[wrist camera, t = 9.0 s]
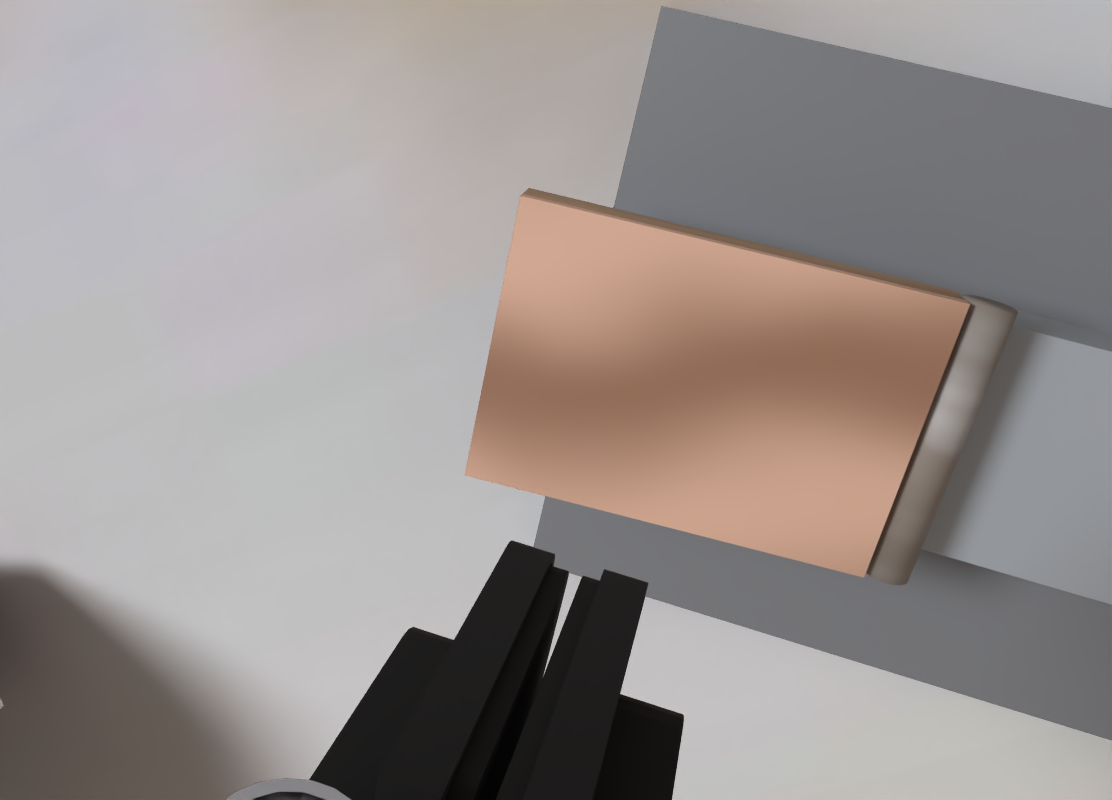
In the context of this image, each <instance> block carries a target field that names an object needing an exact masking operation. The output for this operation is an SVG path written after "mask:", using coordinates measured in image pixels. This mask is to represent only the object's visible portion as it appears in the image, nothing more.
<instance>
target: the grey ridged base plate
mask: <svg viewBox="0 0 1112 800" xmlns="http://www.w3.org/2000/svg"><path fill="white" fill-rule="evenodd" d="M613 208H614V209H618V210H622V211H626V212H630V213H635V214H639V215H643V216H647V217H651V218H655V219H660V220H664V221H668V222H672V223H676V224H680V225H684V226H689V227H693V228H697V229H701V230H705V231H709V232H714V233H718V234H722V235H726V236H730V237H734V238H738V239H743V240H747V241H751V242H755V243H759V244H763V245H768V246H772V247H776V248H780V249H784V250H788V251H792V252H797V253H801V254H805V255H809V256H813V257H817V258H822V259H826V260H830V261H834V262H838V263H842V264H846V265H851V266H855V267H859V268H863V269H867V270H871V271H876V272H880V273H884V274H888V275H892V276H896V277H900V278H905V279H909V280H913V281H917V282H921V283H925V284H930V285H934V286H938V287H942V288H946V289H950V290H954V291H957V292H958V293H959V294H960V295H961V296H962V295H974V296H979V297H983V298H987V299H991V300H994V301H997V302H1000V303H1003V304H1005V305H1008V306H1010V307H1012V308H1014V309H1016V310H1017V311H1018V314H1017V317H1016V319H1015V321H1014V324H1013V326H1012V329H1011V331H1010V334H1009V336H1008V339H1007V341H1006V343H1005V346H1004V348H1003V351H1002V353H1001V356H1000V358H999V361H998V363H997V365H996V368H995V370H994V373H993V375H992V378H991V380H990V383H989V385H988V387H987V390H986V392H985V395H984V397H983V400H982V402H981V405H980V407H979V409H978V412H977V414H976V417H975V419H974V422H973V424H972V427H971V429H970V431H969V434H968V436H967V439H966V441H965V444H964V446H963V449H962V451H961V453H960V456H959V458H958V461H957V463H956V466H955V468H954V471H953V473H952V475H951V478H950V480H949V483H948V485H947V488H946V490H945V493H944V495H943V497H942V500H941V502H940V505H939V507H938V510H937V512H936V515H935V517H934V519H933V522H932V524H931V527H930V529H929V532H928V534H927V537H926V539H925V541H924V544H923V546H922V549H921V551H920V554H919V556H918V559H917V561H916V563H915V566H914V568H913V571H912V573H911V576H910V578H909V581H908V582H907V583H906V584H905V585H891V584H887V583H884V582H881V581H879V580H876V579H875V578H873V577H871V576H870V575H868V574H867V573H866V574H865V576H864V578H863V577H859V576H856V575H852V574H848V573H844V572H840V571H836V570H832V569H828V568H824V567H820V566H817V565H813V564H809V563H805V562H801V561H797V560H793V559H789V558H785V557H781V556H778V555H774V554H770V553H766V552H762V551H758V550H754V549H750V548H746V547H742V546H739V545H735V544H731V543H727V542H723V541H719V540H715V539H711V538H707V537H704V536H700V535H696V534H692V533H688V532H684V531H680V530H676V529H672V528H668V527H665V526H661V525H657V524H653V523H649V522H645V521H641V520H637V519H633V518H629V517H626V516H622V515H618V514H614V513H610V512H606V511H602V510H598V509H594V508H591V507H587V506H583V505H579V504H575V503H571V502H567V501H563V500H559V499H555V498H552V497H548V496H545V501H544V505H543V509H542V513H541V518H540V522H539V526H538V530H537V534H536V539H535V543H534V547H535V548H538V549H541V550H544V551H548V552H551V553H554V554H555V561H554V567H557V568H561V569H564V570H567V571H569V573H571V574H575V575H578V576H581V577H582V576H586V577H590V578H593V579H596V580H599V581H600V579H601V576H602V573H603V570H604V569H606V570H609V571H613V572H616V573H619V574H622V575H626V576H629V577H632V578H635V579H639V580H642V581H645V582H648V583H649V584H648V588H647V591H646V595H645V596H646V597H649V598H652V599H656V600H659V601H662V602H665V603H669V604H672V605H675V606H678V607H681V608H685V609H688V610H691V611H694V612H698V613H701V614H704V615H707V616H711V617H714V618H717V619H720V620H724V621H727V622H730V623H733V624H737V625H740V626H743V627H746V628H749V629H753V630H756V631H759V632H762V633H766V634H769V635H772V636H775V637H779V638H782V639H785V640H788V641H792V642H795V643H798V644H801V645H805V646H808V647H811V648H814V649H818V650H821V651H824V652H827V653H830V654H834V655H837V656H840V657H843V658H847V659H850V660H853V661H856V662H860V663H863V664H866V665H869V666H873V667H876V668H879V669H882V670H886V671H889V672H892V673H895V674H899V675H902V676H905V677H908V678H911V679H915V680H918V681H921V682H924V683H928V684H931V685H934V686H937V687H941V688H944V689H947V690H950V691H954V692H957V693H960V694H963V695H967V696H970V697H973V698H976V699H979V700H983V701H986V702H989V703H992V704H996V705H999V706H1002V707H1005V708H1009V709H1012V710H1015V711H1018V712H1022V713H1025V714H1028V715H1031V716H1035V717H1038V718H1041V719H1044V720H1048V721H1051V722H1054V723H1057V724H1060V725H1064V726H1067V727H1070V728H1073V729H1077V730H1080V731H1083V732H1086V733H1090V734H1093V735H1096V736H1099V737H1103V738H1106V739H1109V740H1112V108H1108V107H1104V106H1099V105H1095V104H1091V103H1086V102H1082V101H1077V100H1073V99H1069V98H1064V97H1060V96H1055V95H1051V94H1047V93H1042V92H1038V91H1033V90H1029V89H1025V88H1020V87H1016V86H1011V85H1007V84H1003V83H998V82H994V81H989V80H985V79H981V78H976V77H972V76H967V75H963V74H959V73H954V72H950V71H945V70H941V69H937V68H932V67H928V66H923V65H919V64H914V63H910V62H906V61H901V60H897V59H892V58H888V57H884V56H879V55H875V54H870V53H866V52H862V51H857V50H853V49H848V48H844V47H840V46H835V45H831V44H826V43H822V42H818V41H813V40H809V39H804V38H800V37H796V36H791V35H787V34H782V33H778V32H774V31H769V30H765V29H760V28H756V27H752V26H747V25H743V24H738V23H734V22H730V21H725V20H721V19H716V18H712V17H708V16H703V15H699V14H694V13H690V12H686V11H681V10H677V9H672V8H668V7H664V6H661V10H660V14H659V18H658V22H657V27H656V31H655V35H654V39H653V44H652V48H651V52H650V56H649V61H648V65H647V69H646V73H645V78H644V82H643V86H642V90H641V94H640V99H639V103H638V107H637V111H636V116H635V120H634V124H633V128H632V133H631V137H630V141H629V145H628V149H627V154H626V158H625V162H624V166H623V171H622V175H621V179H620V183H619V188H618V192H617V196H616V200H615V204H614V207H613Z"/></svg>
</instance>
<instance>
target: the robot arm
mask: <svg viewBox="0 0 1112 800" xmlns="http://www.w3.org/2000/svg"><path fill="white" fill-rule="evenodd" d="M554 561H555V554H554V553H551V552H548V551H544V550H541V549H538V548H535V547H531V546H528V545H525V544H521V543H518V542H515V541H510V542H509V544H508V545H507V547H506V549H505V550H504V552H503V554H502V556H501V557H500V559H499V561H498V563H497V565H496V566H495V568H494V570H493V572H492V573H491V575H490V577H489V579H488V581H487V582H486V584H485V586H484V588H483V589H482V591H481V593H480V595H479V597H478V598H477V600H476V602H475V604H474V606H473V607H472V609H471V611H470V613H469V614H468V616H467V618H466V620H465V622H464V623H463V625H462V627H461V629H460V630H459V632H458V634H457V636H456V638H455V639H454V640H452V639H449V638H446V637H442V636H439V635H436V634H433V633H430V632H427V631H424V630H421V629H418V628H415V627H412V628H410V629H408V631H407V632H406V633H405V634H404V636H403V637H402V638H401V640H400V642H399V643H398V645H397V646H396V648H395V649H394V651H393V652H392V654H391V655H390V657H389V658H388V660H387V661H386V663H385V664H384V666H383V668H382V669H381V671H380V672H379V674H378V675H377V677H376V678H375V680H374V681H373V683H372V684H371V686H370V687H369V689H368V691H367V692H366V694H365V695H364V697H363V698H362V700H361V701H360V703H359V704H358V706H357V707H356V709H355V710H354V712H353V714H352V715H351V717H350V718H349V720H348V721H347V723H346V724H345V726H344V727H343V729H342V730H341V732H340V733H339V735H338V737H337V738H336V740H335V741H334V743H333V744H332V746H331V747H330V749H329V750H328V752H327V753H326V755H325V756H324V758H323V760H322V761H321V763H320V764H319V766H318V767H317V769H316V770H315V772H314V773H313V775H312V776H311V778H310V779H309V780H303V779H291V778H283V779H276V780H270V781H263V782H259V783H256V784H254V785H251V786H249V787H246V788H244V789H241V790H239V791H236V792H235V793H234V794H232V795H231V796H230V797H228V798H227V799H226V800H672V794H673V788H674V781H675V775H676V769H677V762H678V756H679V749H680V743H681V736H682V730H683V722H684V716H683V714H680V713H677V712H674V711H671V710H667V709H664V708H661V707H658V706H655V705H652V704H649V703H646V702H643V701H640V700H637V699H634V698H630V697H627V696H624V695H621V694H620V691H621V688H622V684H623V680H624V676H625V672H626V668H627V665H628V661H629V657H630V653H631V649H632V645H633V641H634V638H635V634H636V630H637V626H638V622H639V618H640V615H641V611H642V607H643V603H644V599H645V595H646V591H647V588H648V584H649V583H648V582H645V581H642V580H639V579H635V578H632V577H629V576H626V575H622V574H619V573H616V572H613V571H609V570H606V569H604V570H603V573H602V576H601V579H600V581H599V580H596V579H593V578H590V577H586V576H582V579H581V581H580V584H579V586H578V589H577V591H576V594H575V597H574V599H573V602H572V604H571V607H570V609H569V612H568V615H567V617H566V620H565V622H564V625H563V627H562V630H561V633H560V635H559V638H558V640H557V643H556V645H555V648H554V651H553V653H552V656H551V658H550V661H549V664H548V666H547V669H546V671H545V667H546V663H547V659H548V655H549V651H550V647H551V643H552V639H553V635H554V631H555V627H556V623H557V619H558V616H559V612H560V608H561V604H562V600H563V596H564V592H565V588H566V584H567V580H568V575H569V571H567V570H564V569H561V568H557V567H554ZM544 671H545V674H544ZM543 675H544V676H543Z"/></svg>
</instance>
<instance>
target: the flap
mask: <svg viewBox="0 0 1112 800" xmlns="http://www.w3.org/2000/svg"><path fill="white" fill-rule="evenodd" d="M1017 314H1018V311H1017V310H1016V309H1014V308H1012V307H1010V306H1008V305H1005V304H1003V303H1000V302H997V301H994V300H991V299H987V298H983V297H979V296H974V295H962V296H961V295H960V294H959V293H958V292H957V291H954V290H950V289H946V288H942V287H938V286H934V285H930V284H925V283H921V282H917V281H913V280H909V279H905V278H900V277H896V276H892V275H888V274H884V273H880V272H876V271H871V270H867V269H863V268H859V267H855V266H851V265H846V264H842V263H838V262H834V261H830V260H826V259H822V258H817V257H813V256H809V255H805V254H801V253H797V252H792V251H788V250H784V249H780V248H776V247H772V246H768V245H763V244H759V243H755V242H751V241H747V240H743V239H738V238H734V237H730V236H726V235H722V234H718V233H714V232H709V231H705V230H701V229H697V228H693V227H689V226H684V225H680V224H676V223H672V222H668V221H664V220H660V219H655V218H651V217H647V216H643V215H639V214H635V213H630V212H626V211H622V210H618V209H614V208H610V207H606V206H601V205H597V204H593V203H589V202H585V201H581V200H576V199H572V198H568V197H564V196H560V195H556V194H552V193H547V192H543V191H539V190H535V189H531V188H529V189H528V190H526V191H525V192H524V193H523V194H522V195H521V196H520V200H519V205H518V210H517V215H516V220H515V225H514V231H513V236H512V241H511V246H510V251H509V256H508V261H507V266H506V271H505V276H504V281H503V286H502V291H501V296H500V301H499V306H498V311H497V316H496V321H495V326H494V331H493V336H492V341H491V346H490V351H489V356H488V361H487V366H486V371H485V376H484V381H483V386H482V391H481V396H480V401H479V406H478V411H477V416H476V421H475V426H474V431H473V436H472V441H471V446H470V451H469V456H468V461H467V466H466V471H465V475H466V476H470V477H474V478H478V479H481V480H485V481H489V482H493V483H497V484H501V485H505V486H509V487H513V488H516V489H520V490H524V491H528V492H532V493H536V494H540V495H544V496H548V497H552V498H555V499H559V500H563V501H567V502H571V503H575V504H579V505H583V506H587V507H591V508H594V509H598V510H602V511H606V512H610V513H614V514H618V515H622V516H626V517H629V518H633V519H637V520H641V521H645V522H649V523H653V524H657V525H661V526H665V527H668V528H672V529H676V530H680V531H684V532H688V533H692V534H696V535H700V536H704V537H707V538H711V539H715V540H719V541H723V542H727V543H731V544H735V545H739V546H742V547H746V548H750V549H754V550H758V551H762V552H766V553H770V554H774V555H778V556H781V557H785V558H789V559H793V560H797V561H801V562H805V563H809V564H813V565H817V566H820V567H824V568H828V569H832V570H836V571H840V572H844V573H848V574H852V575H856V576H859V577H863V578H864V576H865V574H866V573H867V574H868V575H870V576H871V577H873V578H875V579H876V580H879V581H881V582H884V583H887V584H891V585H905V584H906V583H907V582H908V581H909V578H910V576H911V573H912V571H913V568H914V566H915V563H916V561H917V559H918V556H919V554H920V551H921V549H922V546H923V544H924V541H925V539H926V537H927V534H928V532H929V529H930V527H931V524H932V522H933V519H934V517H935V515H936V512H937V510H938V507H939V505H940V502H941V500H942V497H943V495H944V493H945V490H946V488H947V485H948V483H949V480H950V478H951V475H952V473H953V471H954V468H955V466H956V463H957V461H958V458H959V456H960V453H961V451H962V449H963V446H964V444H965V441H966V439H967V436H968V434H969V431H970V429H971V427H972V424H973V422H974V419H975V417H976V414H977V412H978V409H979V407H980V405H981V402H982V400H983V397H984V395H985V392H986V390H987V387H988V385H989V383H990V380H991V378H992V375H993V373H994V370H995V368H996V365H997V363H998V361H999V358H1000V356H1001V353H1002V351H1003V348H1004V346H1005V343H1006V341H1007V339H1008V336H1009V334H1010V331H1011V329H1012V326H1013V324H1014V321H1015V319H1016V317H1017Z"/></svg>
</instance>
